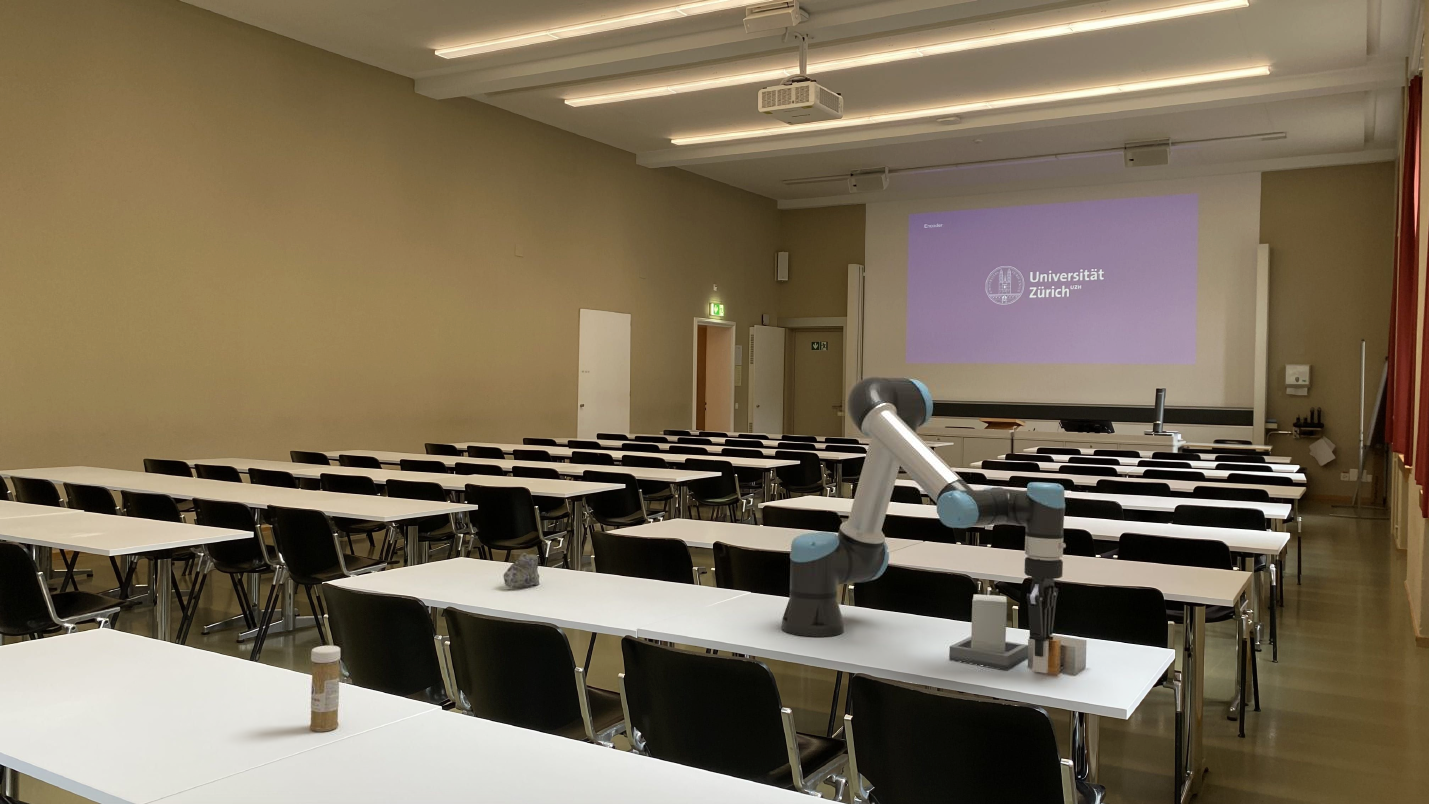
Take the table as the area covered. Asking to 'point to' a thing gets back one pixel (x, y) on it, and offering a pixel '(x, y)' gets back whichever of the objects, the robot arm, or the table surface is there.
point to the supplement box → (989, 623)
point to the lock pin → (1054, 657)
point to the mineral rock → (522, 572)
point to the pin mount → (1066, 654)
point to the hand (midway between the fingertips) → (1040, 671)
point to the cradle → (989, 655)
